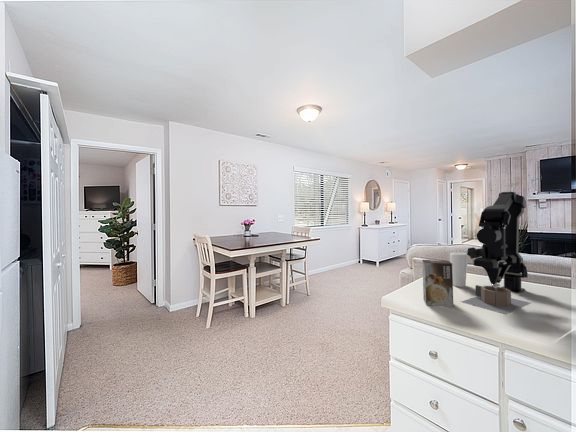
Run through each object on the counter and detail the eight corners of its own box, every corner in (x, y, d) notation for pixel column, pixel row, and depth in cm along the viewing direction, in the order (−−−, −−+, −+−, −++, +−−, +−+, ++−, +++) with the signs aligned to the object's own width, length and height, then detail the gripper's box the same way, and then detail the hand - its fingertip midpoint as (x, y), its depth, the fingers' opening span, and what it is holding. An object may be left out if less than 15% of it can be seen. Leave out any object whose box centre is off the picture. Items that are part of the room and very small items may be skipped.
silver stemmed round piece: (491, 294, 100) (490, 273, 100) (507, 298, 96) (507, 276, 96) (484, 296, 98) (483, 275, 98) (500, 300, 93) (500, 278, 93)
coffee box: (449, 301, 100) (449, 260, 99) (453, 307, 94) (453, 263, 93) (422, 299, 103) (422, 259, 102) (425, 305, 97) (424, 262, 96)
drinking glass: (470, 288, 115) (470, 254, 115) (453, 287, 116) (453, 254, 116) (463, 284, 122) (463, 252, 121) (447, 283, 123) (447, 252, 123)
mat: (487, 293, 108) (487, 292, 108) (531, 303, 96) (531, 302, 96) (460, 302, 98) (460, 301, 98) (505, 315, 86) (505, 314, 86)
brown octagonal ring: (481, 295, 105) (481, 283, 105) (514, 303, 95) (514, 290, 95) (470, 299, 101) (470, 286, 101) (503, 307, 91) (503, 293, 91)
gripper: (483, 238, 108) (483, 275, 108) (458, 241, 99) (458, 282, 100) (517, 240, 98) (517, 281, 99) (492, 244, 89) (492, 289, 90)
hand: (495, 283), depth 97 cm, fingers closed on silver stemmed round piece, 3 cm apart
